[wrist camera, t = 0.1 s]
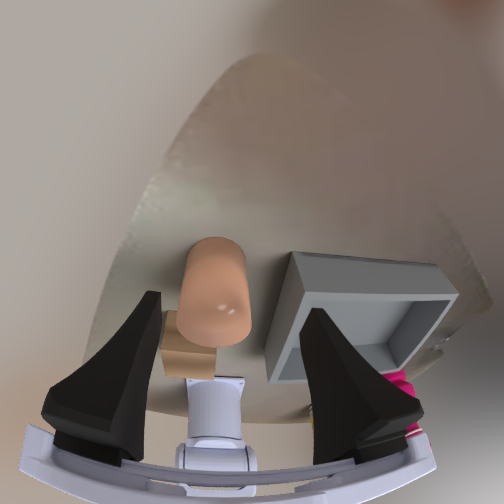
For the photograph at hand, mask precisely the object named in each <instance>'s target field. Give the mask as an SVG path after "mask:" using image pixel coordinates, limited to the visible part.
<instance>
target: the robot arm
mask: <svg viewBox="0 0 504 504" xmlns="http://www.w3.org/2000/svg"><path fill="white" fill-rule="evenodd" d="M161 325H162V311H161V292H155V291H147V292H146V293H145V294H144V296H143V297H142V299H141V301H140V302H139V304H138V305H137V306H136V308H135V309H134V311H133V312H132V313H131V315H130V316H129V317H128V319H127V320H126V321H125V323H124V324H123V325H122V326H121V327H120V329H119V330H118V331H117V332H116V333H115V335H114V336H113V337H112V338H111V339H110V340H109V341H108V342H107V343H106V344H105V345H104V346H103V347H102V348H101V349H100V350H99V351H98V352H97V353H96V354H95V355H94V356H93V357H92V358H91V359H90V360H89V361H87V362H86V363H85V364H84V365H83V366H81V367H80V368H79V369H77V370H76V371H75V372H73V373H72V374H71V375H70V376H68V377H67V378H65V379H64V380H62V381H60V382H59V383H57V384H56V385H54V386H53V387H51V388H50V390H49V392H48V394H47V396H46V398H45V401H44V405H43V408H42V412H41V415H42V417H43V419H44V420H45V421H46V422H47V423H49V424H50V425H51V426H52V427H53V428H54V429H56V432H55V435H53V434H52V433H50V432H48V431H45V430H43V429H41V428H39V427H36V426H34V425H32V424H28V425H27V429H26V433H25V437H24V442H23V446H22V451H21V456H20V462H19V467H18V468H19V470H20V471H22V472H24V473H26V474H28V475H29V476H31V477H33V478H35V479H37V480H39V481H41V482H43V483H46V484H48V485H50V486H52V487H54V488H56V489H58V490H61V491H63V492H65V493H68V494H70V495H72V496H75V497H78V498H80V499H83V500H86V501H88V502H91V503H94V504H360V503H363V502H366V501H368V500H371V499H374V498H376V497H379V496H381V495H383V494H386V493H388V492H390V491H392V490H395V489H397V488H399V487H401V486H403V485H406V484H408V483H410V482H412V481H414V480H416V479H417V478H420V477H422V476H424V475H425V474H427V473H429V472H431V471H433V470H435V469H436V468H437V466H436V463H435V459H434V456H433V453H432V450H431V447H430V444H429V441H428V438H427V435H426V433H422V434H419V435H416V436H414V437H411V438H409V439H407V440H406V438H405V436H406V435H407V434H408V432H407V428H408V427H410V426H411V425H413V424H414V423H415V422H417V421H418V420H419V419H421V418H422V417H423V415H424V411H423V409H422V406H421V404H420V401H419V399H417V398H415V397H413V396H411V395H410V394H408V393H406V392H405V391H403V390H401V389H400V388H398V387H397V386H396V385H394V384H393V383H391V382H390V381H389V380H387V379H386V378H385V377H384V376H382V375H381V374H380V373H379V372H378V371H377V370H375V369H374V368H373V367H372V366H371V365H370V364H369V363H368V362H367V361H366V360H365V359H364V358H363V357H362V356H361V355H360V354H359V352H358V351H357V350H356V349H355V348H354V347H353V346H352V344H351V343H350V342H349V341H348V340H347V338H346V337H345V336H344V335H343V333H342V332H341V331H340V330H339V328H338V327H337V326H336V324H335V323H334V322H333V320H332V319H331V318H330V316H329V315H328V314H327V313H326V311H325V310H324V309H323V308H311V310H310V313H309V315H308V317H307V319H306V321H305V323H304V325H303V327H302V329H301V331H300V333H299V340H300V350H301V355H302V360H303V364H304V368H305V372H306V376H307V380H308V385H309V389H310V394H311V402H312V412H313V427H314V457H313V466H307V467H299V468H290V469H280V470H267V471H257V461H256V455H255V452H254V450H253V449H252V448H251V447H250V446H245V441H244V440H242V429H241V412H240V397H241V394H242V391H243V387H244V384H245V379H244V378H228V377H214V380H199V379H187V378H186V383H187V393H188V402H189V414H188V438H186V445H185V444H184V443H181V444H180V445H179V446H178V447H177V449H176V455H175V468H171V467H164V466H157V465H151V464H145V463H140V462H139V461H141V460H142V459H144V425H145V411H146V401H147V391H148V385H149V379H150V375H151V371H152V367H153V363H154V359H155V355H156V351H157V347H158V343H159V338H160V332H161ZM327 476H328V477H327ZM322 477H327V478H326V479H322V480H318V481H313V482H310V483H308V484H305V485H302V486H298V487H295V493H289V494H280V495H269V496H254V495H255V493H256V485H269V484H281V483H289V482H297V481H304V480H311V479H316V478H322ZM150 479H153V480H159V481H166V482H174V483H177V485H171V484H165V483H159V482H153V481H151V480H150ZM190 486H204V487H241V488H240V489H239V490H235V491H215V490H197V489H193V488H192V487H190Z"/></svg>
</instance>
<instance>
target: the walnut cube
mask: <svg viewBox="0 0 504 504" xmlns="http://www.w3.org/2000/svg"><path fill="white" fill-rule="evenodd" d="M176 317H177V311H172V310H168V313H167V318H166V323H165V328H164V333H163V339H162V344H161V355H162V360H163V365H164V370H165V375H166V376H168V377H177V378H187V379H199V380H214V375H215V364H216V348H211V347H204V346H200V345H197V344H195V343H192V342H190V341H189V340H187V339H186V338H184V337H183V336H182V335H181V333H180V332H179V331H178V329H177V326H176Z"/></svg>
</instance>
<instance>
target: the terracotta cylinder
mask: <svg viewBox="0 0 504 504" xmlns="http://www.w3.org/2000/svg"><path fill="white" fill-rule="evenodd" d="M176 326H177V329H178V331H179V332H180V333H181V335H182V336H183V337H184V338H186V339H187V340H189V341H190V342H192V343H195V344H197V345H200V346H204V347H211V348H220V347H227V346H231V345H234V344H236V343H239V342H240V341H242V340H243V339H244V338H246V337H247V335H248V334H249V332H250V330H251V326H252V323H251V311H250V300H249V289H248V278H247V267H246V257H245V254H244V252H243V250H242V249H241V248H240V246H238V245H237V244H236V243H235V242H233V241H231V240H229V239H226V238H221V237H211V238H206V239H203V240H201V241H199V242H198V243H196V244H195V245H194V246H193V247H192V248H191V250H190V251H189V254H188V258H187V263H186V268H185V273H184V278H183V283H182V288H181V294H180V299H179V305H178V311H177V317H176Z"/></svg>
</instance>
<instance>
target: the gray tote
mask: <svg viewBox="0 0 504 504" xmlns="http://www.w3.org/2000/svg"><path fill="white" fill-rule="evenodd" d="M458 295H459V293H458V292H457V290H456V289H455V288H454V286H453V285H452V284H451V282H450V281H449V280H448V279H447V277H446V276H445V275H444V274H443V272H442V271H441V270H440V269H439V267H438V266H437V265H434V264H424V263H413V262H403V261H392V260H381V259H371V258H360V257H349V256H338V255H327V254H316V253H305V252H294V251H292V254H291V258H290V261H289V265H288V268H287V272H286V275H285V279H284V282H283V286H282V289H281V292H280V296H279V299H278V303H277V306H276V309H275V313H274V316H273V319H272V322H271V326H270V329H269V332H268V335H267V338H266V342H265V345H264V354H265V362H266V371H267V379H268V384H289V383H308V380H307V376H306V372H305V368H304V364H303V360H302V355H301V350H300V340H299V333H300V331H301V329H302V327H303V325H304V323H305V321H306V319H307V317H308V315H309V313H310V310H311V308H323V309H324V310H325V311H326V313H327V314H328V315H329V316H330V318H331V319H332V320H333V322H334V323H335V324H336V326H337V327H338V328H339V330H340V331H341V332H342V333H343V335H344V336H345V337H346V338H347V340H348V341H349V342H350V343H351V344H352V346H353V347H354V348H355V349H356V350H357V351H358V352H359V354H360V355H361V356H362V357H363V358H364V359H365V360H366V361H367V362H368V363H369V364H370V365H371V366H372V367H373V368H374V369H375V370H377V371H378V372H379V373H380V374H386V373H392V372H397V371H400V370H401V369H402V368H403V367H404V365H405V364H406V363H407V362H408V361H409V360H410V359H411V358H412V356H413V355H414V354H415V353H416V352H417V350H418V349H419V348H420V347H421V346H422V344H423V343H424V342H425V341H426V339H427V338H428V337H429V336H430V334H431V333H432V332H433V330H434V329H435V328H436V326H437V325H438V324H439V322H440V321H441V320H442V318H443V317H444V316H445V314H446V313H447V311H448V310H449V308H450V307H451V305H452V304H453V302H454V301H455V299H456V298H457V296H458Z"/></svg>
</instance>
